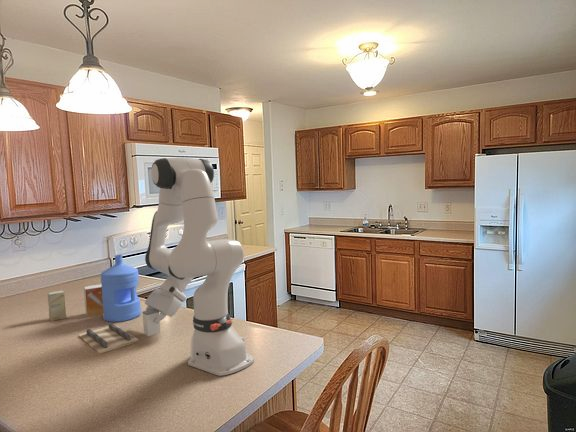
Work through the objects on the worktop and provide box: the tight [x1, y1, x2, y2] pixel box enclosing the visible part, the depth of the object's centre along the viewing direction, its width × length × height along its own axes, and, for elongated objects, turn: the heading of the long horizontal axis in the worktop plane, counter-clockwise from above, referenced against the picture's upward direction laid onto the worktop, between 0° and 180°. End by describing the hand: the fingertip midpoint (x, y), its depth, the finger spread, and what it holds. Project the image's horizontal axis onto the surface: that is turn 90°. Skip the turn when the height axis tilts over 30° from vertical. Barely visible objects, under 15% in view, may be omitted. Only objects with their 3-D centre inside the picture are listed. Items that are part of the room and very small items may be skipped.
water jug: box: [100, 254, 142, 323], centre depth 172 cm, size 16×16×28 cm
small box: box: [83, 283, 104, 318], centre depth 178 cm, size 8×6×13 cm
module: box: [141, 308, 161, 337], centre depth 152 cm, size 4×5×9 cm
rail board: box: [78, 322, 140, 354], centre depth 148 cm, size 24×14×3 cm, turn 44°
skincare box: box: [47, 289, 67, 322], centre depth 173 cm, size 6×4×12 cm
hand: (149, 320), depth 151 cm, fingers open, 8 cm apart
